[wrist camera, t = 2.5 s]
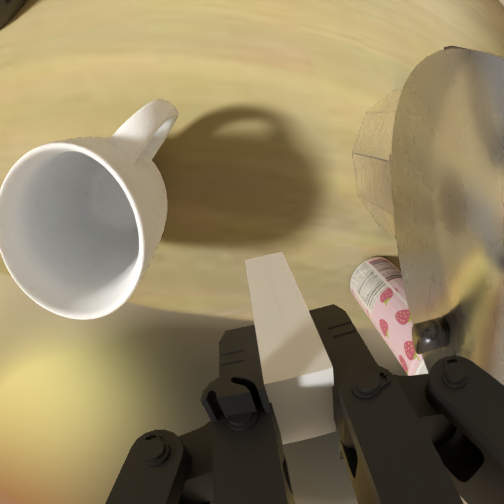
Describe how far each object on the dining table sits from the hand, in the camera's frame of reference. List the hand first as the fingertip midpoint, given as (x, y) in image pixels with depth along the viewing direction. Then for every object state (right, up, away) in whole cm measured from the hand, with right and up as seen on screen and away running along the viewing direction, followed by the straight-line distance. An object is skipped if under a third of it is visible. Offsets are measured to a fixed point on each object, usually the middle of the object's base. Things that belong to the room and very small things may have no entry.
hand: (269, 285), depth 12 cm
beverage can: (+13, -2, +20) cm, 24 cm away
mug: (-12, +8, +14) cm, 20 cm away
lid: (+9, +1, -2) cm, 10 cm away
